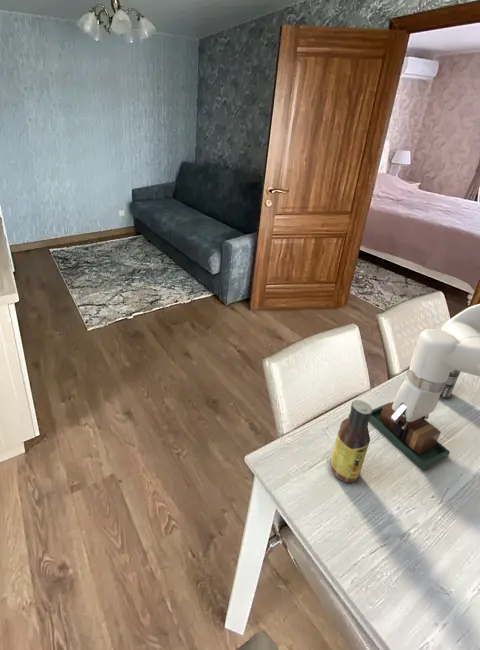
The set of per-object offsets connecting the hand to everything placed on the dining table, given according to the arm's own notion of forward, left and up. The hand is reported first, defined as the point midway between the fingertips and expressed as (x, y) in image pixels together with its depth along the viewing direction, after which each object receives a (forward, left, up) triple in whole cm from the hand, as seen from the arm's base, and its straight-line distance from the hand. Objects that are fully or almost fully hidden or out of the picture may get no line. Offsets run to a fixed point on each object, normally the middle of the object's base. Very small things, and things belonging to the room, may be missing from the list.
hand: (406, 430), depth 89 cm
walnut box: (0, 0, -1) cm, 1 cm away
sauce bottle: (-1, +22, -2) cm, 22 cm away
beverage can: (+7, -24, -2) cm, 25 cm away
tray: (0, 0, -2) cm, 2 cm away
